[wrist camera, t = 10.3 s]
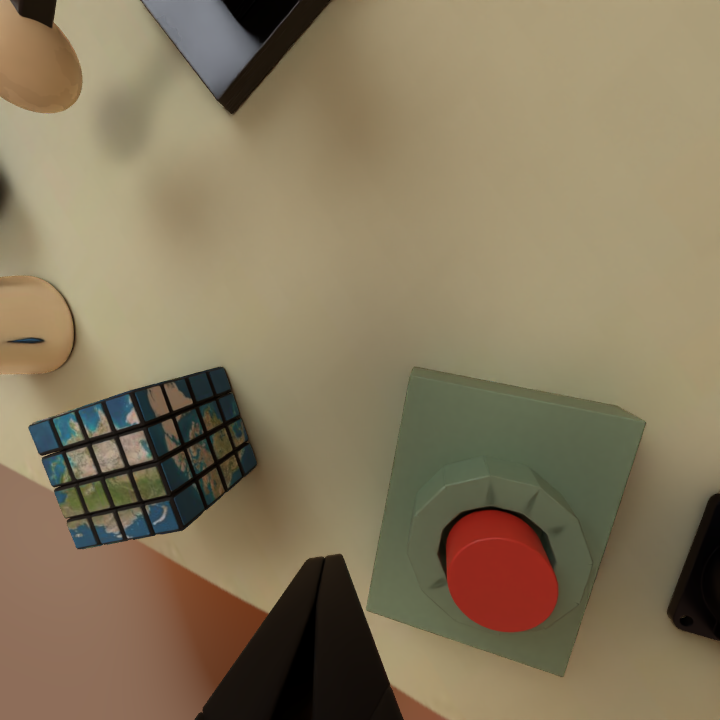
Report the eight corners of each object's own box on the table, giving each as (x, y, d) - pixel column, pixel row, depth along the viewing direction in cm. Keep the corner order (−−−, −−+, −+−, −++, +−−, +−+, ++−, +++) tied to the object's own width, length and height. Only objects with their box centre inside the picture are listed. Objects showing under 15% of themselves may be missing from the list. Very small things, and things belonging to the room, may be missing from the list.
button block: (548, 632, 17) (580, 727, 13) (373, 577, 19) (357, 646, 15) (617, 405, 15) (680, 439, 11) (413, 366, 17) (406, 383, 13)
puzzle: (141, 392, 20) (24, 425, 15) (224, 365, 19) (130, 390, 13) (175, 484, 21) (75, 552, 15) (259, 465, 19) (183, 532, 14)
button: (530, 605, 13) (544, 648, 12) (438, 576, 14) (438, 613, 12) (554, 523, 13) (572, 556, 11) (456, 498, 13) (458, 525, 12)
